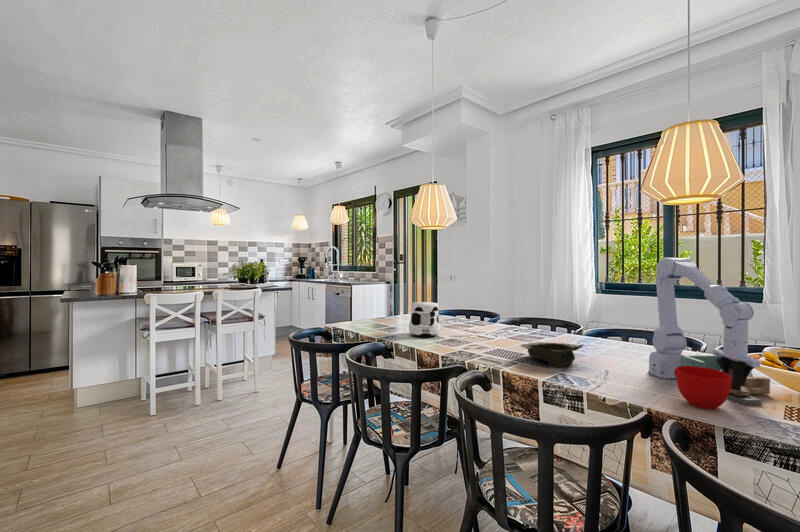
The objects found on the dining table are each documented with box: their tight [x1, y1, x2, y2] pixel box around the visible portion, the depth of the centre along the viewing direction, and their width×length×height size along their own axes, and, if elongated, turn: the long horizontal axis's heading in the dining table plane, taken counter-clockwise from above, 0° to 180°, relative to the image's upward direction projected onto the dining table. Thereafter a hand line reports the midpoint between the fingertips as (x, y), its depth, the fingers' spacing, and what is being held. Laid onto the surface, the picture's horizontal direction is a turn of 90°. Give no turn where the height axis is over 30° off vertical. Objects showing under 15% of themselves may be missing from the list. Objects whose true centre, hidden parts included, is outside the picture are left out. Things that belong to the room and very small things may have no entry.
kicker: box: [728, 368, 771, 396], centre depth 120 cm, size 16×7×9 cm, turn 91°
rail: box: [726, 393, 763, 406], centre depth 123 cm, size 6×18×2 cm, turn 1°
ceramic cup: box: [675, 366, 732, 411], centre depth 115 cm, size 13×17×10 cm
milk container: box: [408, 301, 441, 338], centre depth 213 cm, size 17×17×18 cm
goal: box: [681, 354, 722, 371], centre depth 140 cm, size 15×10×7 cm, turn 91°
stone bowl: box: [519, 342, 584, 368], centre depth 161 cm, size 25×25×9 cm
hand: (734, 383), depth 120 cm, fingers closed on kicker, 3 cm apart
